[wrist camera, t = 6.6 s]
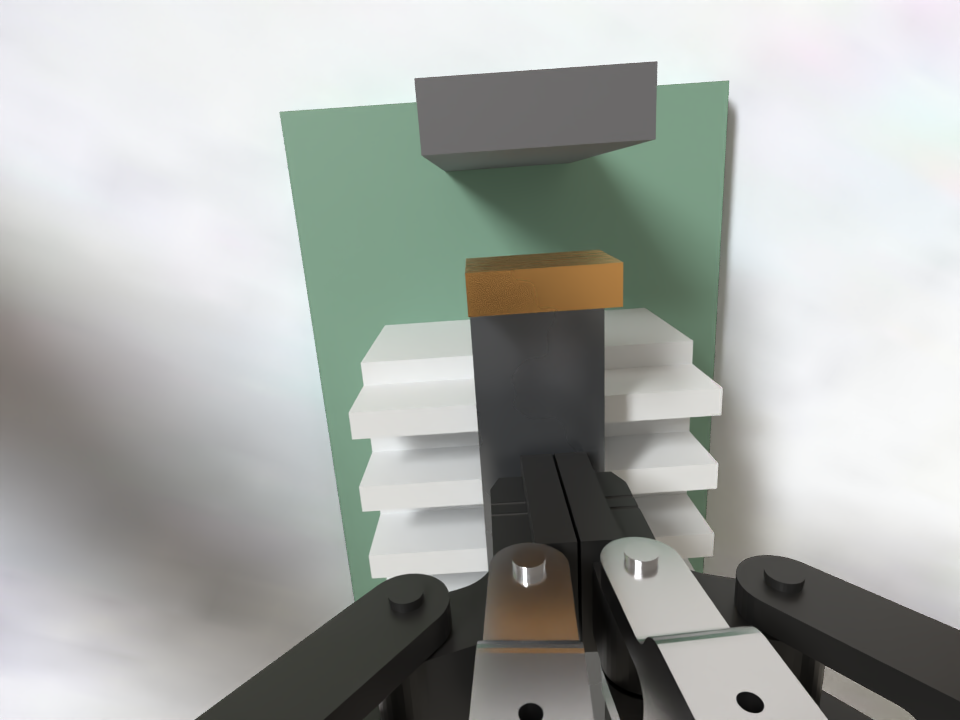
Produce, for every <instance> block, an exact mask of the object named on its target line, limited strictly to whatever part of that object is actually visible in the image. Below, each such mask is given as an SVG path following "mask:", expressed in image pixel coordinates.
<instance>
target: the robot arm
mask: <svg viewBox="0 0 960 720" xmlns="http://www.w3.org/2000/svg"><path fill="white" fill-rule="evenodd" d="M520 472H521V477H505V478H498V480H497V481H496V483H495V484H494V485H493V487H492V488H491V489H490V495H491V518H492V540H493V558H492V560H491V562H490V565H489V571H488V572H487V573H486V575H485V576H483V577H482V578H481V579H480V580H478V581H477V582H475V583H473V584H471V585H469V586H466V587H463V588H460V589H457V590H454V591H450V592H449V591H448V589H447V587H446V586H445V584H444V583H443V582H442V581H440V580H439V579H437V578H435V577H433V576H430V575H426V574H417V573H415V574H403V575H399V576H395V577H393V578H390V579H388V580H386V581H384V582H382V583H380V584H379V585H377V586H376V587H375V588H373V589H372V590H371V591H369V592H368V593H366V594H365V595H364V596H362V597H361V598H360V599H358V600H357V601H356V602H354V603H353V604H352V605H350V606H349V607H347V608H346V609H345V610H343V611H342V612H341V613H339V614H338V615H337V616H335V617H334V618H332V619H331V620H330V621H328V622H327V623H326V624H324V625H323V626H322V627H320V628H319V629H318V630H316V631H315V632H313V633H312V634H311V635H309V636H308V637H307V638H305V639H304V640H303V641H301V642H300V643H299V644H297V645H296V646H294V647H293V648H292V649H290V650H289V651H288V652H286V653H285V654H284V655H282V656H281V657H279V658H278V659H277V660H275V661H274V662H273V663H271V664H270V665H269V666H267V667H266V668H265V669H263V670H262V671H260V672H259V673H258V674H256V675H255V676H254V677H252V678H251V679H250V680H248V681H247V682H245V683H244V684H243V685H241V686H240V687H239V688H237V689H236V690H235V691H233V692H232V693H231V694H229V695H228V696H226V697H225V698H224V699H222V700H221V701H220V702H218V703H217V704H216V705H214V706H213V707H212V708H210V709H209V710H207V711H206V712H205V713H203V714H202V715H201V716H199V717H198V718H197V719H195V720H594V717H593V710H592V703H591V695H590V688H589V681H588V673H587V666H586V659H585V652H598V654H599V658H600V662H601V690H602V693H603V696H604V699H605V702H606V705H607V708H608V711H609V714H610V717H611V720H873V719H871V718H870V717H868V716H866V715H864V714H863V713H861V712H859V711H858V710H856V709H854V708H852V707H851V706H849V705H847V704H845V703H844V702H842V701H840V700H838V699H837V698H835V697H833V696H832V695H830V694H828V693H826V692H825V691H823V690H822V684H823V676H824V669H825V666H827V667H829V668H831V669H833V670H835V671H836V672H838V673H840V674H842V675H844V676H846V677H847V678H849V679H851V680H853V681H855V682H857V683H858V684H860V685H862V686H864V687H866V688H868V689H869V690H871V691H873V692H875V693H877V694H879V695H880V696H882V697H884V698H886V699H888V700H890V701H891V702H893V703H895V704H897V705H899V706H900V707H902V708H904V709H905V710H906V711H908V712H909V713H910V714H911V715H912V716H913V717H914V718H915V719H916V720H960V630H958V629H955V628H953V627H951V626H948V625H946V624H944V623H941V622H939V621H937V620H934V619H932V618H930V617H927V616H925V615H923V614H920V613H918V612H916V611H913V610H911V609H909V608H906V607H904V606H902V605H899V604H897V603H895V602H892V601H890V600H888V599H886V598H883V597H881V596H879V595H876V594H874V593H872V592H869V591H867V590H865V589H862V588H860V587H858V586H855V585H853V584H851V583H848V582H846V581H844V580H841V579H839V578H837V577H834V576H832V575H830V574H827V573H825V572H823V571H820V570H818V569H816V568H813V567H811V566H809V565H806V564H804V563H802V562H799V561H796V560H793V559H790V558H786V557H781V556H773V555H761V556H754V557H750V558H748V559H745V560H744V561H742V562H741V563H740V564H739V565H738V567H737V571H736V579H734V578H728V577H721V576H715V575H709V574H703V573H699V572H696V571H692V570H690V569H689V568H688V566H687V565H686V563H685V562H684V561H683V559H682V558H681V556H680V555H679V554H678V553H677V552H676V551H675V550H674V549H673V548H671V547H670V546H668V545H667V544H664V543H662V542H660V541H657V540H656V539H655V537H654V535H653V533H652V531H651V529H650V527H649V525H648V523H647V521H646V520H645V518H644V516H643V514H642V512H641V510H640V508H638V504H637V502H636V500H635V498H634V497H633V495H632V493H631V491H630V489H629V487H628V485H627V483H626V482H625V481H624V480H622V479H621V478H620V477H618V476H617V475H615V474H614V473H613V472H611V471H608V472H594V470H593V467H592V465H591V463H590V460H589V458H588V456H587V453H586V452H569V453H554V454H553V456H552V454H536V455H520ZM579 639H580V640H579Z"/></svg>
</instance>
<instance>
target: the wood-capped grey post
mask: <svg viewBox="0 0 960 720" xmlns="http://www.w3.org/2000/svg"><path fill="white" fill-rule="evenodd" d="M465 281H466V294H467V308H468V317H470V326H471V340H472V354H473V368H474V382H475V395H476V409H477V423H478V437H479V450H480V464H481V478H482V492H483V505H484V519H485V533H486V547H487V561H488V571H489V565H490V562H491V560H492V558H493V540H492V518H491V495H490V489H491V488H492V487H493V485H494V484H495V483H496V481H497V480H498V478H505V477H521V472H520V455H536V454H552V456H553V454H554V453H569V452H586V453H587V456H588V458H589V460H590V463H591V465H592V467H593V470H594V472H605V308H613V307H623V262H622V261H620V260H618V259H616V258H614V257H612V256H610V255H609V254H607V253H605V252H603V251H601V250H585V251H570V252H555V253H541V254H526V255H511V256H496V257H482V258H467V259H466V266H465ZM579 640H580V639H579ZM585 659H586V666H587V673H588V681H589V688H590V695H591V703H592V710H593V717H594V720H605V699H604V696H603V693H602V690H601V662H600V658H599V654H598V652H585Z"/></svg>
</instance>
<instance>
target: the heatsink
mask: <svg viewBox="0 0 960 720" xmlns="http://www.w3.org/2000/svg"><path fill="white" fill-rule="evenodd" d="M415 90H416V101H417V102H414V103H400V104H386V105H371V106H357V107H343V108H328V109H314V110H299V111H285V112H280V118H281V124H282V131H283V137H284V144H285V150H286V157H287V163H288V170H289V176H290V183H291V189H292V196H293V202H294V209H295V215H296V222H297V228H298V235H299V241H300V248H301V254H302V261H303V268H304V274H305V281H306V287H307V294H308V300H309V307H310V313H311V320H312V326H313V333H314V339H315V346H316V352H317V359H318V365H319V372H320V378H321V385H322V391H323V398H324V405H325V411H326V418H327V424H328V431H329V437H330V444H331V450H332V457H333V463H334V470H335V476H336V483H337V489H338V496H339V502H340V509H341V515H342V522H343V528H344V535H345V541H346V548H347V555H348V561H349V568H350V574H351V581H352V587H353V594H354V600H355V602H356V601H357V600H358V599H360V598H361V597H362V596H364V595H365V594H366V593H368V592H369V591H371V590H372V589H373V588H375V587H376V586H377V585H379V584H380V583H382V582H384V581H386V580H388V579H390V578H393V577H395V576H399V575H403V574H415V573H417V574H426V575H430V576H433V577H435V578H437V579H439V580H440V581H442V582H443V583H444V584H445V586H446V587H447V589H448V591H449V592H450V591H454V590H457V589H460V588H463V587H466V586H469V585H471V584H473V583H475V582H477V581H478V580H480V579H481V578H482V577H483V576H485V575H486V573H487V572H488V561H487V547H486V533H485V519H484V505H483V492H482V478H481V464H480V450H479V437H478V423H477V409H476V395H475V382H474V368H473V354H472V340H471V326H470V317H468V308H467V294H466V281H465V266H466V259H467V258H482V257H496V256H511V255H526V254H541V253H555V252H570V251H585V250H601V251H603V252H605V253H607V254H609V255H610V256H612V257H614V258H616V259H618V260H620V261H622V262H623V307H613V308H605V472H608V471H611V472H613V473H614V474H615V475H617V476H618V477H620V478H621V479H622V480H624V481H625V482H626V483H627V485H628V487H629V489H630V491H631V493H632V495H633V497H634V498H635V500H636V502H637V504H638V508H640V510H641V512H642V514H643V516H644V518H645V520H646V521H647V523H648V525H649V527H650V529H651V531H652V533H653V535H654V537H655V539H656V540H657V541H660V542H662V543H664V544H667V545H668V546H670V547H671V548H673V549H674V550H675V551H676V552H677V553H678V554H679V555H680V556H681V558H682V559H683V561H684V562H685V563H686V565H687V566H688V568H689V569H690V570H692V571H696V572H699V573H703V562H704V557H713V548H714V532H713V531H712V529H711V528H710V526H709V525H708V524H707V522H706V506H707V489H717V480H718V463H717V461H716V460H715V459H714V458H713V457H712V456H711V455H710V454H709V450H710V431H711V416H717V415H721V412H722V395H723V388H722V387H721V386H720V385H718V384H717V383H716V382H715V381H713V375H714V357H715V338H716V319H717V301H718V282H719V263H720V244H721V226H722V207H723V188H724V170H725V151H726V132H727V114H728V95H729V81H716V82H701V83H687V84H673V85H658V86H657V61H656V62H642V63H628V64H613V65H599V66H585V67H570V68H556V69H542V70H527V71H513V72H499V73H485V74H470V75H456V76H442V77H427V78H415ZM605 720H611V717H610V714H609V711H608V708H607V705H606V702H605Z"/></svg>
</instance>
